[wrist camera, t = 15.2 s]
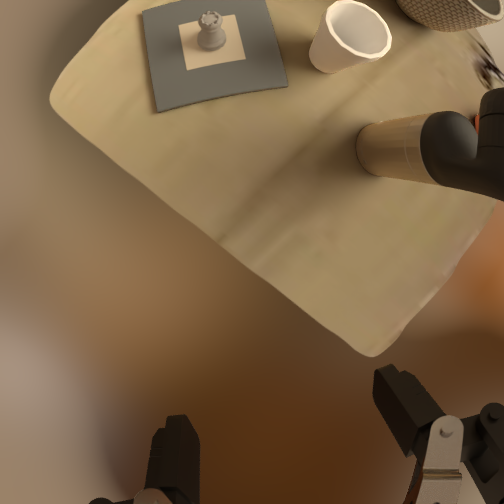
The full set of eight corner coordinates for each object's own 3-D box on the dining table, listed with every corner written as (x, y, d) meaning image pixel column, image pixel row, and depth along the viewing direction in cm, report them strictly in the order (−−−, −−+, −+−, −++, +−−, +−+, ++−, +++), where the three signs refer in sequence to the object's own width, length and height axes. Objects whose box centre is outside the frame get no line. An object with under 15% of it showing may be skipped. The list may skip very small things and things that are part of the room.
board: (260, -9, 33) (261, -12, 32) (287, 87, 39) (288, 85, 38) (143, 13, 32) (141, 10, 31) (158, 113, 38) (157, 111, 37)
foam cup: (358, 81, 39) (399, 60, 27) (307, 84, 39) (338, 58, 27) (343, 34, 36) (378, 3, 24) (293, 34, 36) (317, -3, 24)
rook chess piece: (232, 38, 35) (234, 15, 27) (213, 57, 35) (211, 36, 28) (210, 24, 34) (208, 0, 26) (191, 43, 34) (185, 21, 27)
